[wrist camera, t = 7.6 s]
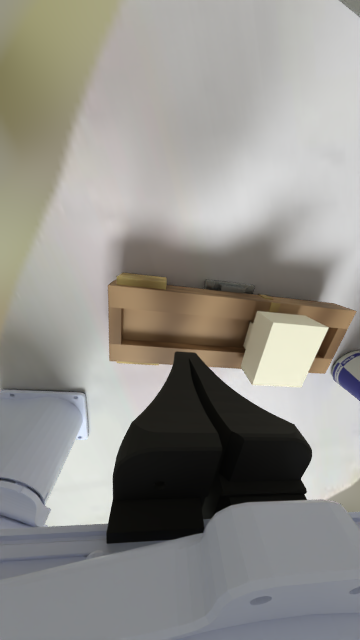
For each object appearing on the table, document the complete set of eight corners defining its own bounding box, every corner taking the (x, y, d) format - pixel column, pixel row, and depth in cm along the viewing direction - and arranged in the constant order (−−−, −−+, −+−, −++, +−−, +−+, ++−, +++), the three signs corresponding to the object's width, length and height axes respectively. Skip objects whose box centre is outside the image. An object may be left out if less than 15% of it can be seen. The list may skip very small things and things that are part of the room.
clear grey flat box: (193, 350, 22) (195, 357, 20) (205, 279, 19) (209, 282, 17) (233, 353, 22) (238, 360, 21) (252, 284, 19) (258, 287, 18)
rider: (235, 358, 19) (252, 385, 15) (250, 306, 17) (273, 322, 13) (276, 361, 19) (301, 387, 16) (295, 310, 17) (328, 327, 14)
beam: (117, 349, 20) (109, 367, 17) (117, 272, 17) (107, 277, 14) (303, 361, 22) (323, 378, 20) (331, 296, 19) (361, 305, 17)
